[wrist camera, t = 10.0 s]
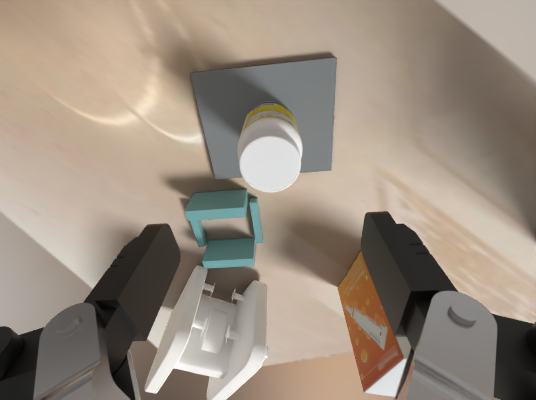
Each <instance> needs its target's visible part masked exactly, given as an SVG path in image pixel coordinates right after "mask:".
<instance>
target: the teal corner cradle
mask: <svg viewBox="0 0 536 400" xmlns="http://www.w3.org/2000/svg"><path fill="white" fill-rule="evenodd" d="M247 203H248V193H247V189H241V190H228V191H215V192H202V193H194V194H193V196H192V197H191V199H190V201H189V203H187V205H186V207H185V208H186V209H185V211H184V212H185V215H186V218H187V220H188V221H190V222H191V225H192V228H193V231H194V234H195V237H196V240H197V243H198V246H199V247H203V246H205V245H206V242H207V240H206V236H205V233H204V230H203V227H202V224H201V220H209V219H224V218H239V217H246V210H247ZM249 204H250V210H251V216H252V222H253V228H254V234H255V238H244V239H228V240H212V241H208V244H207V247H206V250H205V253H204V256H203V260H202V263H203V266H204V269H205V268H223V267H241V266H254V265H255V252H256V243H263V235H262V228H261V221H260V214H259V207H258V201H257V198H250V202H249ZM255 240H256V241H255Z"/></svg>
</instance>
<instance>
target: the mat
mask: <svg viewBox="0 0 536 400" xmlns="http://www.w3.org/2000/svg"><path fill="white" fill-rule="evenodd" d="M336 64H337V57H331V58H322V59H313V60H304V61H294V62H285V63H276V64H267V65H258V66H248V67H239V68H230V69H221V70H211V71H202V72H193V73H190V76H191V80H192V84H193V89H194V93H195V97H196V101H197V105H198V109H199V113H200V117H201V122H202V126H203V130H204V134H205V138H206V142H207V146H208V150H209V155H210V159H211V163H212V167H213V171H214V175H215V179H228V178H241V177H242V175H241V172H240V168H239V158H238V154H237V146H238V141H239V138H240V135H241V132H242V129H243V125H244V122H245V119H246V116H247V114H248V113H249V111H250V110H251V109H252V108H253V107H254V106H256V105H257V104H259V103H262V102H266V101H274V102H278V103H281V104H283V105H284V106H286V107H287V108H288V109H289V110H290V111H291V113H292V115H293V117H294V119H295V122H296V125H297V128H298V131H299V134H300V137H301V141H302V148H303V151H302V157H301V169H300V172H299V173H304V172H317V171H330V170H331V163H332V143H333V124H334V104H335V84H336Z"/></svg>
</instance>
